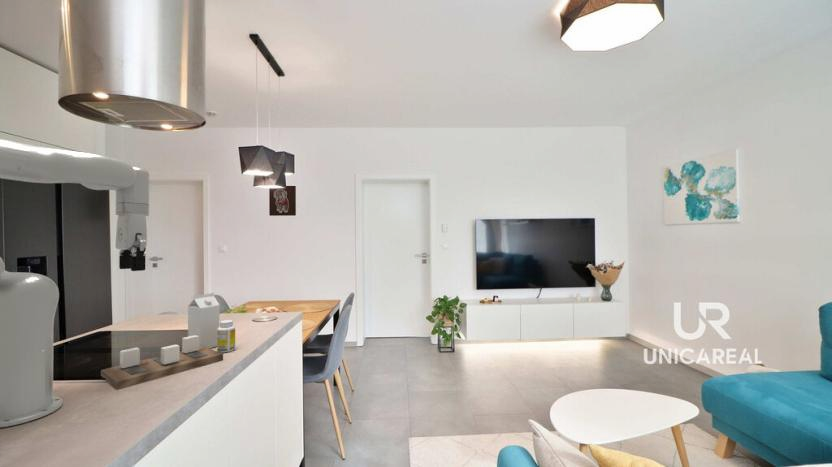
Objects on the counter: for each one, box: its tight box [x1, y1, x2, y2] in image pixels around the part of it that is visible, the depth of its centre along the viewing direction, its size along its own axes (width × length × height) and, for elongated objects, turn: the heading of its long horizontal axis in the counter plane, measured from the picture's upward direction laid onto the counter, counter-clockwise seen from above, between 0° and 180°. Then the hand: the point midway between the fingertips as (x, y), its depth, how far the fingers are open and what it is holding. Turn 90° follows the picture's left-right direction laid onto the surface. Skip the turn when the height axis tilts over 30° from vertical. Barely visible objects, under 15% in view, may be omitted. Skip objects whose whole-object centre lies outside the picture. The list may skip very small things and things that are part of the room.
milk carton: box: [187, 292, 220, 349], centre depth 128 cm, size 7×7×19 cm
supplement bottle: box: [216, 319, 236, 353], centre depth 124 cm, size 6×6×10 cm
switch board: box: [100, 346, 224, 390], centre depth 107 cm, size 27×14×2 cm, turn 145°
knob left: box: [119, 346, 141, 368], centre depth 103 cm, size 4×2×4 cm, turn 145°
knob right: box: [181, 335, 199, 353], centre depth 116 cm, size 4×2×4 cm, turn 145°
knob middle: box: [160, 344, 181, 365], centre depth 106 cm, size 4×2×4 cm, turn 145°
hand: (132, 269), depth 102 cm, fingers open, 9 cm apart
